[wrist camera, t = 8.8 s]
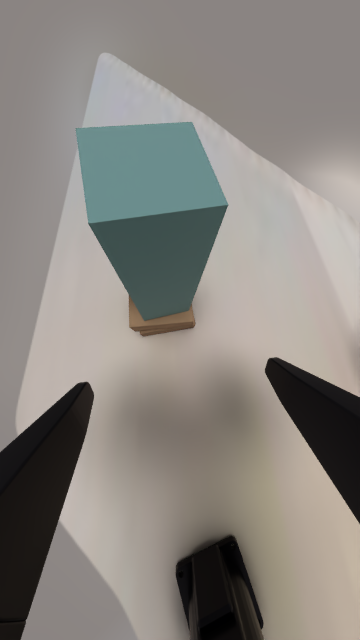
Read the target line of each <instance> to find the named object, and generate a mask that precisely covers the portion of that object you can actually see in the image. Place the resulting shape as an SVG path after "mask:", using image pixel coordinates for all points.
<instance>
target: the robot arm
mask: <svg viewBox="0 0 360 640" xmlns="http://www.w3.org/2000/svg"><path fill="white" fill-rule="evenodd" d="M265 373H266V375H267V377H268V379H269V381H270V383H271V385H272V387H273V389H274V391H275V392H276V394H277V396H278V398H279V400H280V402H281V403H282V405H283V406H284V408H285V410H286V411H287V413H288V414H289V416H290V417H291V419H292V420H293V422H294V423H295V425H296V426H297V428H298V430H299V431H300V433H301V434H302V436H303V437H304V439H305V440H306V442H307V443H308V445H309V447H310V448H311V450H312V451H313V453H314V454H315V456H316V457H317V459H318V460H319V462H320V463H321V465H322V467H323V468H324V470H325V471H326V473H327V474H328V476H329V477H330V479H331V480H332V482H333V483H334V485H335V487H336V488H337V490H338V491H339V493H340V494H341V496H342V497H343V499H344V500H345V502H346V503H347V505H348V507H349V508H350V510H351V511H352V513H353V514H354V516H355V517H356V519H357V520H358V522H359V523H360V397H358V396H356V395H354V394H352V393H350V392H347V391H345V390H343V389H341V388H339V387H337V386H335V385H333V384H331V383H329V382H327V381H325V380H323V379H321V378H319V377H317V376H315V375H312V374H310V373H308V372H306V371H304V370H302V369H300V368H298V367H296V366H294V365H292V364H290V363H288V362H286V361H284V360H282V359H280V358H277V357H275V358H269V359H268V361H267V364H266V368H265ZM93 400H94V393H93V390H92V388H91V386H90V384H89V383H88V382H82V383H78V384H76V385H75V386H74V387H73V388H72V389H71V390H70V391H69V392H67V393H66V394H65V395H64V396H63V397H62V398H61V399H60V400H58V401H57V402H56V403H55V404H54V405H53V406H52V407H51V408H49V409H48V410H47V411H46V412H45V413H44V414H43V415H42V416H40V417H39V418H38V419H37V420H36V421H35V422H34V423H33V424H31V425H30V426H29V427H28V428H27V429H26V430H25V431H24V432H22V433H21V434H20V435H19V436H18V437H17V438H16V439H15V440H13V441H12V442H11V443H10V444H9V445H8V446H7V447H6V448H4V449H3V450H2V451H1V452H0V640H21V637H22V633H23V630H24V627H25V624H26V619H27V617H28V614H29V611H30V608H31V605H32V602H33V598H34V595H35V592H36V589H37V586H38V583H39V580H40V577H41V573H42V570H43V567H44V564H45V561H46V558H47V555H48V551H49V548H50V545H51V542H52V539H53V536H54V533H55V530H56V527H57V523H58V520H59V517H60V514H61V511H62V508H63V505H64V502H65V499H66V495H67V492H68V489H69V486H70V483H71V480H72V477H73V474H74V470H75V467H76V464H77V461H78V458H79V455H80V452H81V449H82V445H83V442H84V439H85V436H86V432H87V428H88V423H89V419H90V414H91V409H92V405H93ZM232 544H234V545H233V546H231V545H232ZM181 570H182V572H179V571H181ZM176 578H177V582H178V586H179V591H180V595H181V599H182V603H183V607H184V611H185V615H186V619H187V623H188V627H189V631H190V640H264V638H263V635H262V631H261V629H262V628H263V619H262V616H261V613H260V610H259V607H258V604H257V601H256V598H255V595H254V592H253V589H252V586H251V583H250V580H249V577H248V574H247V571H246V568H245V565H244V562H243V559H242V555H241V552H240V549H239V546H238V543H237V540H236V538H235V537H233V536H230V537H228V538H226V539H224V540H222V541H220V542H218V543H216V544H214V545H212V546H210V547H208V548H206V549H204V550H202V551H200V552H198V553H196V554H194V555H192V556H190V557H188V558H186V559H184V560H183V561H181V562H179V563H178V564H177V565H176Z"/></svg>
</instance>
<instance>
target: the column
mask: <svg viewBox="0 0 360 640" xmlns="http://www.w3.org/2000/svg"><path fill="white" fill-rule="evenodd" d="M76 135H77V142H78V150H79V157H80V165H81V172H82V180H83V187H84V195H85V202H86V210H87V217H88V224H89V225H90V227H91V229H92V231H93V232H94V234H95V236H96V238H97V239H98V241H99V243H100V245H101V246H102V248H103V250H104V252H105V253H106V255H107V257H108V259H109V260H110V262H111V264H112V266H113V267H114V269H115V271H116V273H117V274H118V276H119V278H120V280H121V281H122V283H123V285H124V287H125V288H126V290H127V292H128V294H129V295H130V297H131V299H132V301H133V302H134V304H135V306H136V308H137V309H138V311H139V313H140V315H141V316H142V318H143V320H144V321H146V320H150V319H154V318H159V317H163V316H168V315H172V314H177V313H181V312H185V311H189V308H190V306H191V303H192V300H193V298H194V295H195V292H196V290H197V287H198V284H199V282H200V279H201V276H202V274H203V271H204V268H205V266H206V263H207V260H208V258H209V255H210V252H211V250H212V247H213V244H214V242H215V239H216V236H217V234H218V231H219V228H220V226H221V223H222V220H223V217H224V215H225V212H226V209H227V207H228V203H227V201H226V198H225V196H224V194H223V192H222V189H221V187H220V185H219V182H218V180H217V178H216V176H215V173H214V171H213V169H212V166H211V164H210V162H209V160H208V157H207V155H206V153H205V150H204V148H203V146H202V144H201V141H200V139H199V137H198V134H197V132H196V130H195V128H194V125H193V123H192V122H182V123H164V124H145V125H127V126H109V127H90V128H76Z"/></svg>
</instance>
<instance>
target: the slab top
mask: <svg viewBox="0 0 360 640" xmlns="http://www.w3.org/2000/svg"><path fill="white" fill-rule="evenodd" d="M193 322H194V319H193V311H192V303H191V306H190V308H189V311H185V312H181V313H177V314H172V315H168V316H163V317H159V318H154V319H150V320H146V321H144V320H143V318H142V316H141V315H140V313H139V311H138V309H137V308H136V306H135V304H134V302H133V301H132V299H131V297H130V295H129V327H130V328H131V329H132V330H134V331H146V330H157V329H168V328H179V327H190V326H192V324H193Z"/></svg>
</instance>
